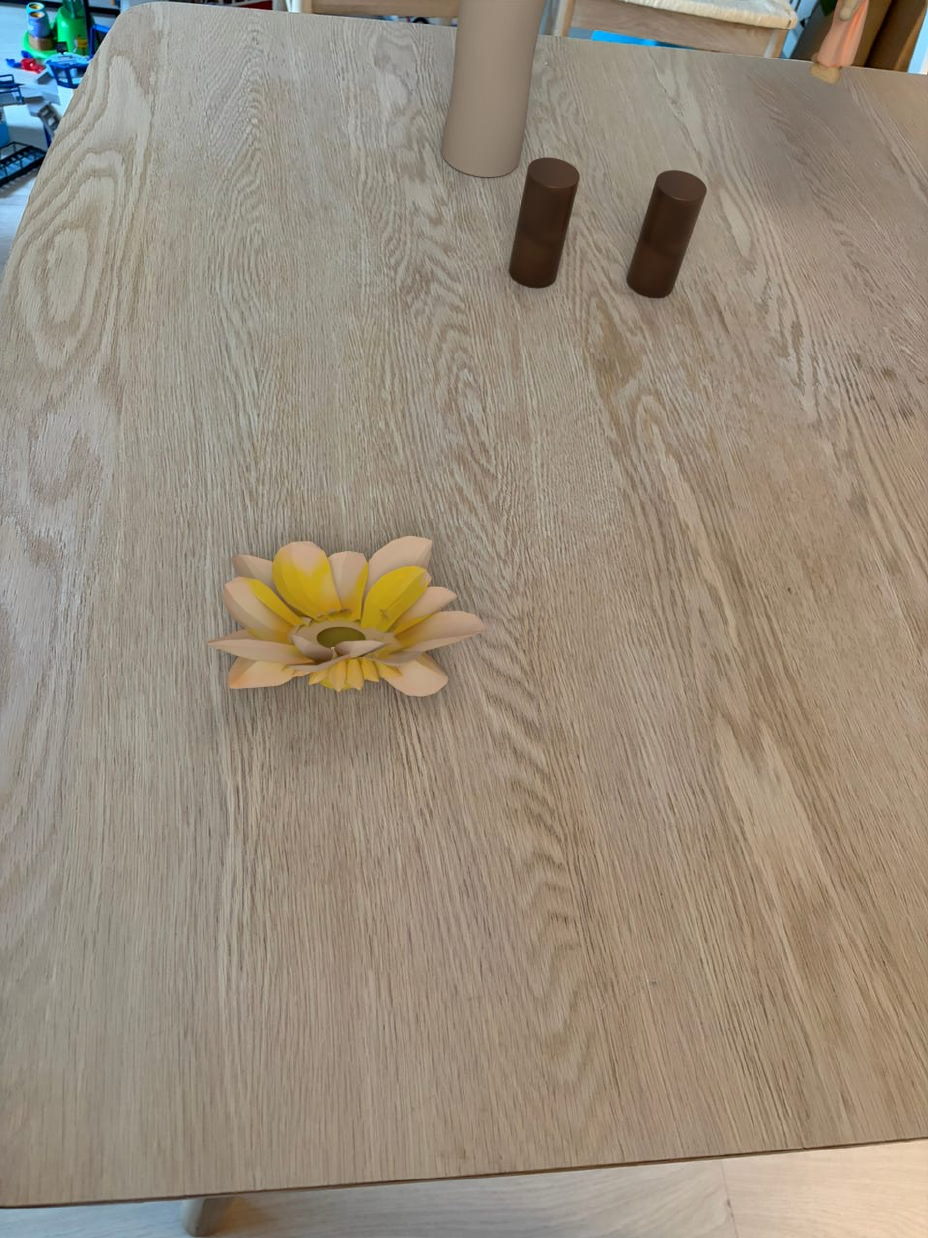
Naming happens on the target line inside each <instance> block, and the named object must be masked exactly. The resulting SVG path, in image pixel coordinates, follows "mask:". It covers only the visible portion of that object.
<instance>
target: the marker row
mask: <svg viewBox="0 0 928 1238" xmlns="http://www.w3.org/2000/svg"><path fill="white" fill-rule="evenodd" d="M580 178H581V176H580V173H579V170H578V169H577V168H576V166H574V165H573V164H571V162H568V161H566V160H564V159H560V158H556V157H539V158H536V159H533V160H532V161H531V162H530V163H528V166H527V170H526V175H525V180H524V181H525V182H524V186H523V191H522V197H521V202H520V207H519V211H518V217H517V218H518V219H517V223H516V228H515V234H514V239H513V243H512V250H511V254H510V260H509V265H508V273H509V275H510V277H511V279H513V281H514V282H516V283H518V284H519V285H520V286H521V285H522V286H524V287H527V288H531V289H543V288H548V287H550V286H551V285H553V284H554V283H555V281H556V280H557V277H558V272H559V267H560V263H561V258H562V254H563V251H564V246H565V242H566V238H567V233H568V229H569V225H570V221H571V218H572V212H573V208H574V204H575V201H576V200H575V199H576V195H577V191H578V187H579V182H580ZM707 192H708V189H707V186H706V184H705V182H704V181H703V180H702V179H700V178H699V177H698V176H697V175H695V174H692V173H690V172H687V171H683V170H679V169H678V170H677V169H669V170H664V171H661V172H660V173H659V174H658V175H657V176H656V178H655V181H654V184H653V188H652V192H651V195H650V198H649V201H648V204H647V208H646V211H645V215H644V217H643V222H642V224H641V228H640V231H639V235H638V238H637V241H636V244H635V247H634V250H633V254H632V257H631V261H630V264H629V268H628V272H627V275H626V283H627V285H628V286H629V288H630V289H631V290H633V291H634V292H635V293H637V294H639V295H640V296H643V297H645V298H651V299H659V298H660V299H661V298H664V297H667V296H669V295H670V294H671V293H672V292H673V291H674V288H675V285H676V281H677V279H678V275H679V274H680V270H681V267H682V265H683V262H684V259H685V256H686V253H687V251H688V247H689V244H690V241H691V238H692V236H693V233H694V229H695V227H696V224H697V223H698V222H697V221H698V218H699V215H700V212H701V210H702V207H703V204H704V202H705V198H706V196H707Z"/></svg>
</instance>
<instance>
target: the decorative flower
mask: <svg viewBox="0 0 928 1238" xmlns="http://www.w3.org/2000/svg"><path fill="white" fill-rule="evenodd" d="M432 549H433V540H431V539H429V538H427V537H420V536H415V535H406V536H402V537H399V538H396V539H392V540H391V541H389V542H388V543H387V544H385V545H383V547H381V548H379V549H378V550H377V551H376V552H374V553H373V555H372V556H371V557H370V559H369V561H367V558H366V557H365V554H364V553H363V552H358V551H351V550H346V551H339V552H334V553H332V554H331V555H329V556H328V557H327V554H326V552H325V551H324V550H323V549H322V548H320V547H319V546H318V545H316V544H315V543H314V542H312V541H311V540H305V541H292V542H289V543H287V544H285V545H283V546H281V547H279V549H278V551H277V553H276V554H275V555H274V558H273V560H269V559H265V558H262V557H259V556H256V555H255V556H254V555H249V554H244V553H238V554H234V555H233V556H231V558H230V560H231V565H232V568H233V569H234V571H235V573H236V575H237V576H236V577H235V578H233V579H232V580H230V581H227V582H226V583H225V584H224V586H223V590H222V594H221V595H222V600H223V605H224V607H225V608H226V610H227V612H228V613H229V616H230V617H231V618H232V619H233V620H234V621H235V622H236V623H237V624H238V625H240V627H241V628H242V629H240V630H237V631H233V632H232V633H228V634H226V635H223V636H221V637H217V638H214V639H211V640H208V641H207V642H205V643H202V645H206V646H209V647H211V648H214V649H217V650H221V651H222V652H223V651H224V652H225V653H228V654H231V655H234V656H236V657H237V658H236V659H235V660H234V662H233V663H232V666H231V667H230V669H229V671H228V673H227V685H228V687H229V689H237V690H238V689H239V690H240V689H254V688H255V689H256V688H266V687H267V688H268V687H276V686H277V687H278V686H279V687H280V686H281V685H283V684H286V683H288V682H289V681H290V680H292V679H293V678H294V677H303V676H307V675H308V682H307V684H308V686H311V685H314V684H317V683H318V684H320V685H321V686H322V687H325V688H327V689H330V690H332V689H333V691H337V692H338V693H340V692H342V691H343V692H344V691H348V690H351V689H355V690H357V691H362V689H363V686H364V684H365V681H367V680H368V681H371V682H376V683H380V678H381V679H384V680H386V682H387V683H388V684H389V685H391V686H392V687H393V688H394V689H396V690H398V691H399V692H401V693H403V694H404V695H406V696H409V697H412V696H413V697H422V698H423V697H427V696H431V695H435V694H436V693H438V691H440V690H441V689H443V688H444V686H445V685H447V683H448V681H449V677H448V675H447V674H446V673H445V672H444V670H443V669H442V667H440V665H439V664H438V663H437V662H436V660H434V659H433V657H432V656H430V654H429V653H428V652H427V651H431V650H434V649H437V648H441V647H445V646H449V645H453V644H455V643H458V642H460V641H463V640H465V639H468V638H470V637H473V636H475V635H478V634H480V633H483V632H486V631H487V627H486V625H485V624H484V623H483V622H482V621H481V620H480V618H479V617H478V616H477V615H476V614H474V613H471V612H467V611H462V610H448V611H441V610H442V609H444V608H445V607H446V606H448V605H449V604H450V603H452V602H453V601H454V600H456V599H457V597H458V595H457V594H456V593H455V592H453V591H451V590H449V589H448V588H446V587H444V586H429V585H430V584H431V581H432V579H433V578H432V576H431V574H430V573H429V572H428V568H429V564H430V560H431V555H432ZM331 647H335V648H334V650H333V649H331Z"/></svg>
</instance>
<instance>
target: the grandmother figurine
mask: <svg viewBox="0 0 928 1238" xmlns="http://www.w3.org/2000/svg"><path fill="white" fill-rule="evenodd" d="M869 4H870V0H837V3H836V5H835V9H834V13H833V19H832V23H831V27H830V29H829V31H828V32H827V34H826V36H825V37H824V39H823V41H822V43H821V45H820V48H819V51H817V52H815V53H814V54H813V55H812V56H811V60H810V61H811V62H812V63H813V64H812V65H810V67H809V68H808V73H809V74H810V75H811V76H813V77H815V78H817V79H819V80H820V81H822V82H824V83H826V84H830V85H835V84H838V83H839V82H840V81H841V76H842V75H841V70H842V69H843V68H844V67H850V66H851V65H853V64H854V61H855V57H856V55H857V52H858V49H859V46H860V42H861V38H862V35H863V31H864V27H865V24H866V18H867V15H868V10H869Z"/></svg>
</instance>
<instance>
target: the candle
mask: <svg viewBox="0 0 928 1238" xmlns="http://www.w3.org/2000/svg"><path fill="white" fill-rule="evenodd" d="M546 2H547V0H459V5H458V11H457V21H456V35H455V46H454V57H453V58H454V59H453V72H452V73H453V74H452V81H451V82H452V83H451V90H450V96H449V103H448V107H447V113H446V118H445V123H444V129H443V135H442V141H441V149H440V150H441V155H442V158H443V159H444V161H445V162H446V163H447V164H448V165H450V166H451V167H452V168H454V169H455V170H457V171H459V172H462V173H464V174H466V175H470V176H474V177H480V178H497V177H502V176H505V175H508V174H510V173H512V172H513V171H515V170H516V168H518V166H519V164H520V159H521V154H522V148H523V143H524V140H525V134H526V133H525V131H526V124H527V117H528V109H529V100H530V93H531V92H530V91H531V83H532V75H533V74H532V73H533V66H534V61H535V60H534V59H535V53H536V47H537V44H538V43H537V42H538V37H539V32H540V28H541V24H542V20H543V14H544V11H545V7H546Z"/></svg>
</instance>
